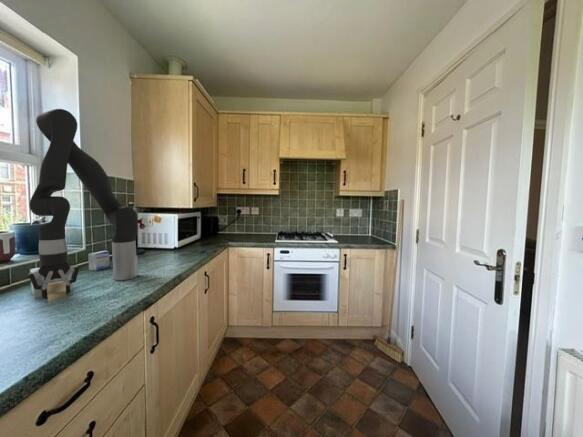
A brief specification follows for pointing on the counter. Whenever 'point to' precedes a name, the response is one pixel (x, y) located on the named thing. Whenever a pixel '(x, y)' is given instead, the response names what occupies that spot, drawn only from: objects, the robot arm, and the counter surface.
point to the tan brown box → (56, 291)
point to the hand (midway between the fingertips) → (56, 296)
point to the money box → (40, 279)
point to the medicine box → (98, 260)
